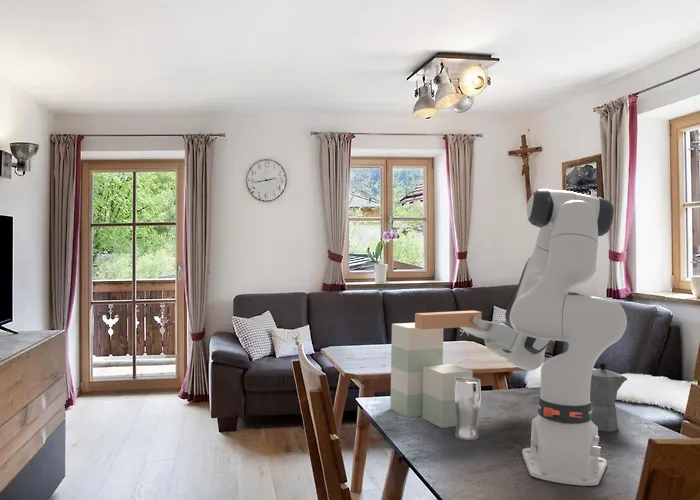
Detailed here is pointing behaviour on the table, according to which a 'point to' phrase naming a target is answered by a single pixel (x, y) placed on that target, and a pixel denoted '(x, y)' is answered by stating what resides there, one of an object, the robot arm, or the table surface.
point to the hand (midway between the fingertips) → (466, 317)
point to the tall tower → (412, 365)
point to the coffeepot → (605, 398)
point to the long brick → (445, 319)
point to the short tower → (441, 393)
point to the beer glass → (467, 407)
